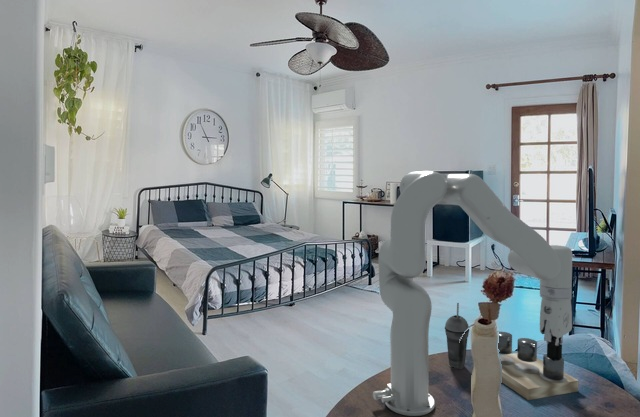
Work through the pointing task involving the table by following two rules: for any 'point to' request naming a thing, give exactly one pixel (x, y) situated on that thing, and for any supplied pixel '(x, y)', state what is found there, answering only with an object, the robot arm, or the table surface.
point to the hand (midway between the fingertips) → (554, 357)
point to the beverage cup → (456, 339)
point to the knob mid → (527, 350)
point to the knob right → (553, 368)
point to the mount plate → (533, 379)
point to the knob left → (505, 343)
